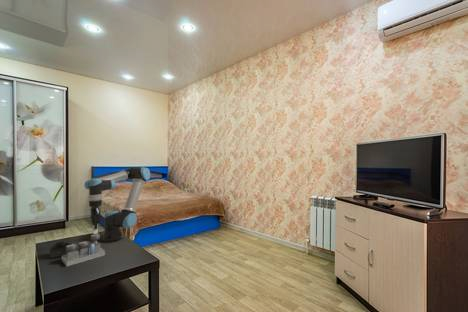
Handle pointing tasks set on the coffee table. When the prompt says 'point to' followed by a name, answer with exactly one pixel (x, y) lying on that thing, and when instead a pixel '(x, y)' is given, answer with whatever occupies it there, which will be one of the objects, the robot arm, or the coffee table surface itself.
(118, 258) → the coffee table surface
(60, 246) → the camera
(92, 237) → the knob
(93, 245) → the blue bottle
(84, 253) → the knob panel
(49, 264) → the coffee table surface
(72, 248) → the knob
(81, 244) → the knob mid
